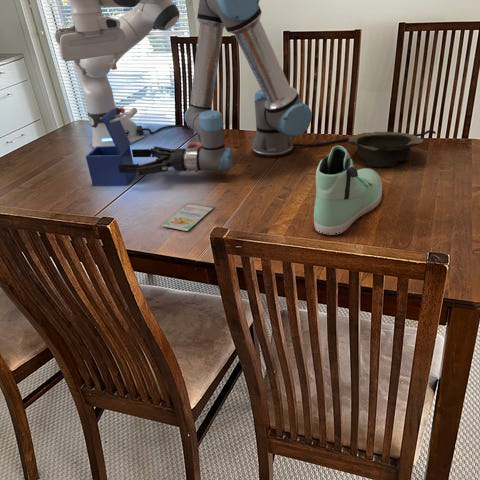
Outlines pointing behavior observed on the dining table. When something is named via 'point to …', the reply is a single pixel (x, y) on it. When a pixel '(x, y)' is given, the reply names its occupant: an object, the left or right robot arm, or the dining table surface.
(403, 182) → the dining table surface
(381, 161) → the stone bowl
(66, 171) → the dining table surface
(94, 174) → the chest
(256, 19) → the right robot arm
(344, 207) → the sneaker
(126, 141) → the lid
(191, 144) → the candy cane
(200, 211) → the baking ingredient package
